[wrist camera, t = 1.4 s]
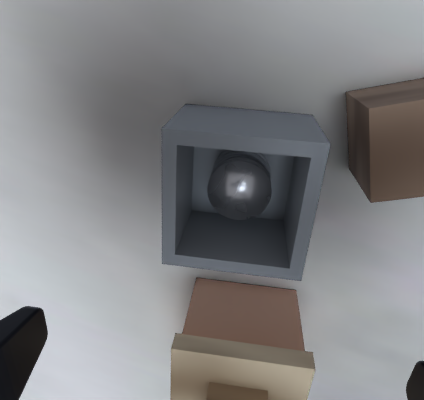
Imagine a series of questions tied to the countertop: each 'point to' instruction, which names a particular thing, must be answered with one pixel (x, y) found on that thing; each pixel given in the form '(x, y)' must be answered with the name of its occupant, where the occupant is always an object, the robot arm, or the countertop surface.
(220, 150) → the grey open square bin
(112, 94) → the countertop surface
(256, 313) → the pot
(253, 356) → the lid
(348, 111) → the walnut block
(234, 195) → the dark grey round piece
